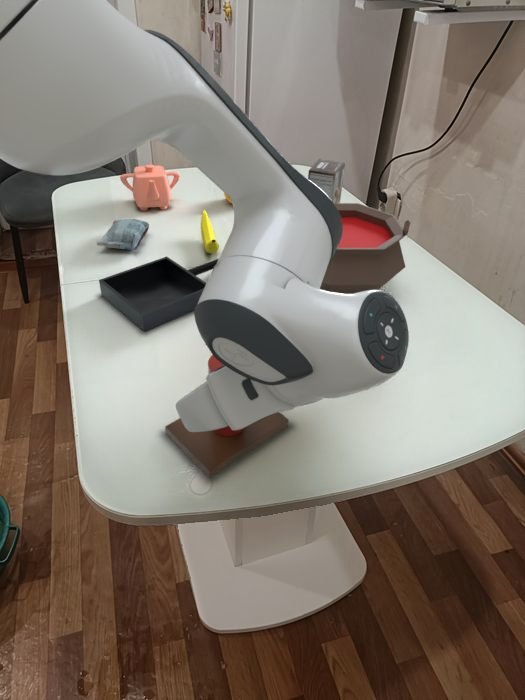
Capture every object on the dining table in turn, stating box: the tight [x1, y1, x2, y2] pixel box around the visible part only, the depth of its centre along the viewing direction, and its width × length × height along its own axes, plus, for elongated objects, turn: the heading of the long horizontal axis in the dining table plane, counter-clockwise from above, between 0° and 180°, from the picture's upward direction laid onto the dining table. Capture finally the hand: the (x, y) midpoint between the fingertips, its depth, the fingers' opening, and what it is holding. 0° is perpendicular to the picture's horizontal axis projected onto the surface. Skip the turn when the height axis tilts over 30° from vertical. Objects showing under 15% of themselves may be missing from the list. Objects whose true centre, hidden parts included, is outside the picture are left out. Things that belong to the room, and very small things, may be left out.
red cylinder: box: [207, 354, 244, 436], centre depth 68 cm, size 5×5×11 cm
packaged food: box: [96, 218, 150, 251], centre depth 114 cm, size 9×12×5 cm
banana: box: [200, 209, 220, 255], centre depth 114 cm, size 3×19×6 cm, turn 11°
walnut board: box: [164, 412, 289, 479], centre depth 72 cm, size 14×10×2 cm
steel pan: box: [98, 256, 219, 333], centre depth 99 cm, size 24×15×4 cm, turn 132°
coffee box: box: [307, 158, 346, 203], centre depth 119 cm, size 9×6×16 cm
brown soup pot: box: [320, 202, 411, 294], centre depth 99 cm, size 24×24×16 cm
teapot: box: [119, 163, 181, 211], centre depth 130 cm, size 14×12×10 cm
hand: (228, 387), depth 67 cm, fingers open, 8 cm apart
